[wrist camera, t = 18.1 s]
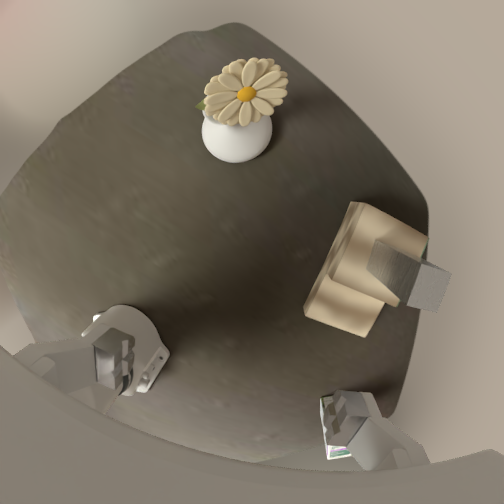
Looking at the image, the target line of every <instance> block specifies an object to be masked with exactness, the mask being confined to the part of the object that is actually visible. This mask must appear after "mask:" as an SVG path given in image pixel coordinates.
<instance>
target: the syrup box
mask: <svg viewBox="0 0 504 504" xmlns="http://www.w3.org/2000/svg"><path fill="white" fill-rule="evenodd" d="M332 397H333V396H327V397H321V398H320V415H321V420H322V425H323V432H324V439H325V447H326V454H327V459H328V460H329V459H336V458H342V457H348V456H352V455H351V453H350V452H349V451H348V450H347V449H346V447H342V446H330V445H327V443H326V437H325V433H326V431H327V429H326V427H325V426H324V424H323V416H324V412H325V409H326V407H327V406H328V404H330V403H332V402H333V398H332Z"/></svg>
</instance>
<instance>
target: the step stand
mask: <svg viewBox="0 0 504 504" xmlns="http://www.w3.org/2000/svg"><path fill="white" fill-rule="evenodd" d="M375 240H377V241H380V242H383V243H386V244H389V245H392V246H395V247H398V248H401V249H403V250H405V251H407V252H409V253H411V254H413V255H416V256H418V257H420V258H421V257H422V254H423V252H424V250H425V247H426V245H427V242H428V240H429V238H428V237H427V236H425V235H424V234H422V233H420V232H419V231H417V230H415V229H413V228H412V227H410V226H408V225H406V224H404V223H403V222H401V221H399V220H397V219H395V218H394V217H392V216H390V215H388V214H386V213H384V212H382V211H380V210H379V209H377V208H375V207H373V206H371V205H369V204H367V203H361V202H352V201H351V202H350V205H349V207H348V210H347V212H346V214H345V217H344V219H343V221H342V224H341V226H340V228H339V231H338V233H337V235H336V238H335V240H334V242H333V244H332V247H331V249H330V251H329V253H328V255H327V258H326V260H325V262H324V264H323V266H322V268H321V271H320V273H319V275H318V277H317V279H316V281H315V283H314V285H313V287H312V289H311V291H310V294H309V296H308V298H307V300H306V302H305V304H304V306H303V309H304V313H305V316H307V317H309V318H312V319H315V320H317V321H320V322H323V323H325V324H328V325H331V326H334V327H336V328H339V329H342V330H345V331H348V332H350V333H353V334H356V335H359V336H362V337H366V336H367V334H368V332H369V331H370V329H371V327H372V325H373V324H374V322H375V320H376V318H377V317H378V315H379V313H380V311H381V309H382V308H383V306H384V304H385V303H387V304H390V305H392V306H394V307H397V306H398V304H399V302H400V299H399V298H398V297H397V296H396V295H394V294H393V293H392V292H391V291H390V290H389V289H388V288H387V287H386V286H385V285H383V284H382V283H381V282H380V281H379V280H378V279H377V278H375V277H374V276H373V275H372V274H371V273H370V272H369V271H367V270H366V267H367V264H368V261H369V257H370V254H371V251H372V248H373V245H374V241H375Z"/></svg>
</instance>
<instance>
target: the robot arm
mask: <svg viewBox="0 0 504 504" xmlns="http://www.w3.org/2000/svg"><path fill="white" fill-rule="evenodd" d="M169 356H170V352H169V351H168V349H167V348H166V347H165V345H164V344H163V343H162V341H161V339H160V337H159V334H158V332H157V330H156V328H155V326H154V325H153V323H152V322H151V321H150V319H149V318H148V317H147V316H146V315H144V314H143V313H142V312H140V311H139V310H137V309H135V308H133V307H130V306H127V305H116V306H113V307H111V308H110V309H108V310H107V311H106V312H102V313H97V314H95V315H94V317H93V323H92V324H91V325H90V326H89V327H88V328H87V329H86V330H85V331H84V332H83V333H82V338H81V339H79V338H73V339H66V340H59V341H51V342H43V343H35V344H29V345H28V346H26V347H25V348H23V349H22V350H20V351H19V352H18V353H16V354H15V355H13V356H12V355H11V354H10V353H9V352H7V351H6V350H5V349H4V348H3V347H2V346H0V504H504V456H503V455H502V454H500V453H498V452H497V451H494V450H492V449H489V450H484V451H481V452H477V453H474V454H471V455H467V456H463V457H459V458H455V459H451V460H447V461H442V462H437V463H432V464H430V461H429V459H428V457H427V455H426V453H425V450H424V448H423V446H422V445H420V444H419V443H418V442H416V441H415V440H413V439H412V438H411V437H410V436H408V435H407V434H406V433H404V432H403V431H402V430H400V429H399V428H398V427H396V426H395V425H394V424H393V423H391V422H390V421H389V420H387V419H386V418H382V416H381V413H380V411H379V409H378V406H377V404H376V402H375V399H374V397H373V395H372V394H371V393H368V392H352V391H343V390H337V391H336V392H335V393H334V395H333V397H332V398H333V402H332V403H330V404H328V406H327V407H326V409H325V412H324V416H323V424H324V426H325V427H326V429H327V431H326V433H325V437H326V443H327V445H330V446H342V447H346V449H347V450H348V451H349V452H350V453H351V455H352V456H353V457H354V458H355V459H356V460H357V462H358V463H359V464H360V465H361V467H362V468H363V469H364V470H365V471H316V470H315V471H314V470H302V469H291V468H283V467H274V466H268V465H261V464H255V463H250V462H245V461H240V460H235V459H230V458H226V457H221V456H217V455H213V454H209V453H206V452H202V451H198V450H195V449H191V448H188V447H185V446H182V445H179V444H176V443H173V442H170V441H167V440H164V439H161V438H158V437H156V436H153V435H150V434H148V433H145V432H143V431H140V430H138V429H136V428H133V427H131V426H129V425H126V424H124V423H122V422H120V421H118V420H115V419H113V418H111V417H109V416H107V415H105V414H106V413H107V411H108V409H109V408H110V406H111V405H112V403H113V402H114V400H115V399H116V397H117V396H119V395H121V394H123V395H127V396H131V395H133V394H134V393H135V392H136V391H137V392H147V391H148V390H149V388H150V387H151V385H152V383H153V382H154V380H155V379H156V377H157V375H158V374H159V372H160V371H161V369H162V367H163V366H164V364H165V363H166V361H167V359H168V358H169ZM161 357H163V358H161Z"/></svg>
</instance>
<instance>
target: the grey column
mask: <svg viewBox="0 0 504 504" xmlns="http://www.w3.org/2000/svg"><path fill="white" fill-rule="evenodd" d="M366 270H367V271H369V272H370V273H371V274H372V275H373V276H374V277H375V278H377V279H378V280H379V281H380V282H381V283H382V284H383V285H385V286H386V287H387V288H388V289H389V290H390V291H391V292H392V293H393V294H394V295H396V296H397V297H398V298H399V299H400V300H401V301H402V302H403V303H404V304H405V305H407V306H411V307H415V308H419V309H424V310H428V311H432V312H436V313H437V311H438V308H439V306H440V303H441V301H442V298H443V296H444V293H445V291H446V288H447V285H448V283H449V279H450V277H451V273H449V272H447V271H445V270H443V269H441V268H439V267H438V266H436V265H433V264H432V263H430V262H428V261H426V260H424V259H422V258H420V257H418V256H416V255H413V254H411V253H409V252H407V251H405V250H403V249H401V248H398V247H395V246H392V245H389V244H386V243H383V242H380V241H377V240H375V241H374V245H373V248H372V251H371V254H370V257H369V261H368V264H367V267H366Z"/></svg>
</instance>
